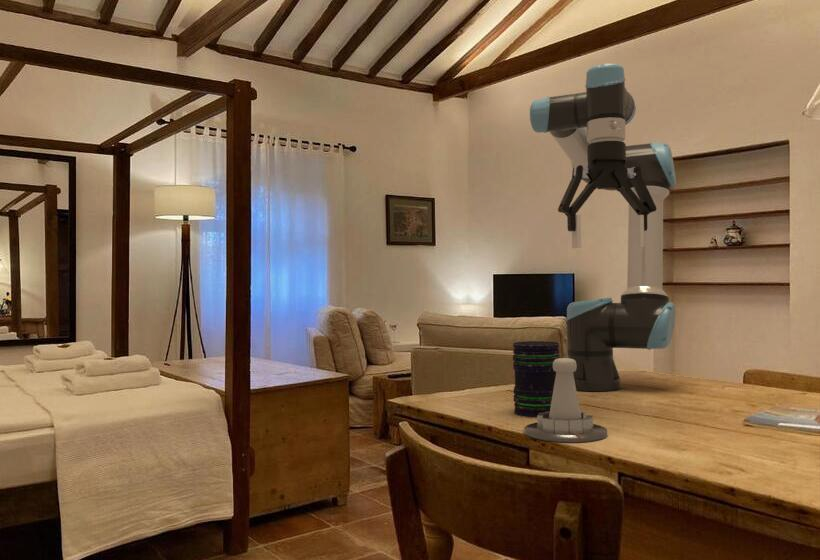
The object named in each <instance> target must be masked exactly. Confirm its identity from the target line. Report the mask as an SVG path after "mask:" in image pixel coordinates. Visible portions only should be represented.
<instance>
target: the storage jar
mask: <svg viewBox="0 0 820 560" xmlns="http://www.w3.org/2000/svg"><path fill="white" fill-rule="evenodd" d="M512 348H513V350H512V351H513V352H512V361H513V362H512V363H513V365H512V366H513V370H514V387H513V402H514V404H513V405H514V406H513V407H514V410H513V412H514V415H516V414H517V415H516V416H519V415H520V416H519V417H523V416H525V417H524V418H533V417H537V415H538V414H539V413H542V412H547V411H550V408H551V401H552V395H553V389H554V383H555V377H556V372H555V371H554V370H553V361H554V360H555V359H559V358H561V357H560V350H559V348H560V343H559V342H556V341H540V340H539V341H533V340H532V341H530V340H529V341H516V342H513V343H512Z"/></svg>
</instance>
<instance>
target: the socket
mask: <svg viewBox="0 0 820 560" xmlns="http://www.w3.org/2000/svg"><path fill="white" fill-rule="evenodd" d="M549 414H550V411H547V412H542V413H539V414H538V415H537V418H536V419H537V422H533V423H530V424H526V425H525V426H524V428H523V433H524V435H525V436H526V437H528V438H531V439H533V440H534V439H535V440H538V441H544V442H551V443H560V444H561V443H562V444H565V443H566V444H567V443H568V444H577V443H578V444H580V443H592V442H597V441H601V440H604V439H606V438H608V428H606V427H604V426H602V425H598V424H595V423H594V415H590V414H589V415H587V412H584V411H581V419H576V420H560V419H552V418H549Z"/></svg>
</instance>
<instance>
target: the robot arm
mask: <svg viewBox="0 0 820 560" xmlns="http://www.w3.org/2000/svg"><path fill="white" fill-rule="evenodd" d="M625 77H626V76H625V70H624V67H623V66H622V65H621V64H618V63H611V62H610V63H602V64H597V65H594V66H591V67H590V68H589V69H588V70H587V71H586V77H585V85H584V87H585V90H586V91H584V92H577V93H570V94H562V95H556V96H546V97H543V98H539V99H538V98H537V99H535V100H533V101H532V102H531V105H530V107H529V121H530V124H531V125H530V126H531V128H532V130H533V131H534V133H544V134H545V133H549V134H550V135H552V137H553V138H554V140H555V141H556V142H557V144H558V146H559V147H560V148H561V150H563V152H564V153H565V154H566V156H567V157H568V159H569V160H570V162H571V168H572V172H571V174H572V175H571V179H570V181H569V183H568V185H567V188H566V190H565V193H564V194H563V196H562V199H561V200H560V204H559V206H558V208H557V211H558V213H562V214H564V215H565V216H566V217H567V222H566V224H567V231H568V232H571V249H579V248H582V233H581V232H582V230H581V229H582V228H581V227H582V223H581V220H582V219H581V214H578V212H579V211H580V209H581V208H582V207H583V205H584V204H585V203H586V201H587V200H588V199H589V198H590V196H591V195H592V194H593V193H594V191H595V190H605V191H612V192H613V191H617V192H618V193H620V195H621V196H622V197H623V198H624V200H625V201H626V203H628V219H627V220H628V224H627V225H628V229H627V274H626V275H627V278H626V279H627V280H626V281H627V282H626V283H627V285H626V290H625V291H623V293H621V295H620V302H614V301H613V298H612V297H611V296H610V297H603V298H595V299H589V300H582V301H581V300H580V301H573V302H571V303H569V304H568V306H567V309H566V319H565V322H566V350H567V351H566V353H567V354H566V355H567V356H566V358H570V359H574V360H575V361H576V365H577V368H576V371H575V372H573V375H574V380H575V386H576V391H579V392H580V391H581V392H608V391H615V390H616V391H617V390H619V389H621V388H622V386H621V377H620V375H619V372H618V368H617V366H616V363H615V360H614V349H641V350H642V349H643V350H644V349H646V350H656V349H657V350H660V349H661V350H662V349H666V348H668V346H669V345H670V343H671V341H672V338H673V333H674V328H675V323H676V322H675V321H676V305H675V303H673V302H671V301H670V300H669V297H670V296H669V295H668V294H667V293H666V291H664V289H663V266H664V264H663V263H664V262H663V259H664V258H663V257H664V255H663V253H664V251H663V250H664V247H663V246H664V245H663V244H664V200H665V199H666V198H667V197H668V196H669V195H670V188H673V187H675V186H676V185H677V178H676V170H675V164H674V163H675V162H674V158H673V153H672V149H671V147H670V146H669V144H667V143H666V142H649V143H642V144H633V145H626V143H625V142H624V141H625V140H626V126H627V125H628V124H629V123H631V121H632V120H633V119H634V117H635V114H636V111H637V110H636V109H637V108H636V107H637V106H636V102H635V99H634V97H633V96H632V95H631V93H630V92H628V89H627V88H626V87H625V81H626V78H625ZM582 181H583V182H585V183H586V185H585V186H584V188H583V189H582V191H581V192H580V194H578V196H577V197H576V199H575V200H574V197H575V195H576V193H577V191H578V188H579V187H580V184H581V182H582ZM573 200H574V201H573ZM572 202H573V203H572ZM571 203H572V204H571Z"/></svg>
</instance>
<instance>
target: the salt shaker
mask: <svg viewBox="0 0 820 560" xmlns="http://www.w3.org/2000/svg"><path fill="white" fill-rule="evenodd" d="M576 368H577V365H576V361H575V360H574V359H570V358H567V357H560V358H559V359H555V360H554V361H553V370H554V371H555V372H556V377H555V383H554V389H553V395H552V401H551V408H550V414H549V418H552V419H560V420H576V419H581V412H582V411H581V408H580V402H579V398H578V394H577V393H578V392H577V391H578V390H576V386H575V380H574V375H573V372H575V371H576Z"/></svg>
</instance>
